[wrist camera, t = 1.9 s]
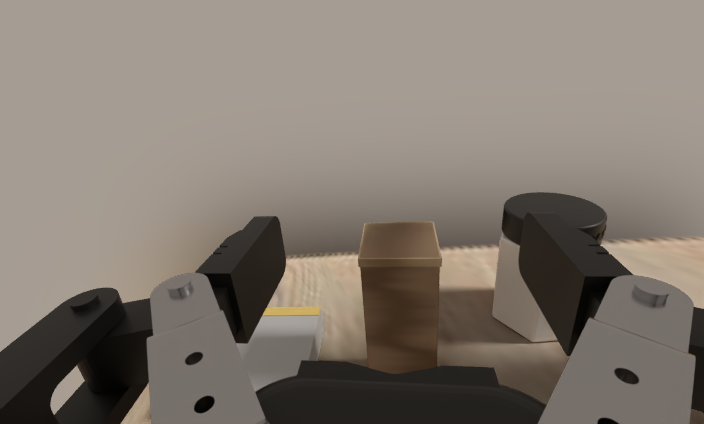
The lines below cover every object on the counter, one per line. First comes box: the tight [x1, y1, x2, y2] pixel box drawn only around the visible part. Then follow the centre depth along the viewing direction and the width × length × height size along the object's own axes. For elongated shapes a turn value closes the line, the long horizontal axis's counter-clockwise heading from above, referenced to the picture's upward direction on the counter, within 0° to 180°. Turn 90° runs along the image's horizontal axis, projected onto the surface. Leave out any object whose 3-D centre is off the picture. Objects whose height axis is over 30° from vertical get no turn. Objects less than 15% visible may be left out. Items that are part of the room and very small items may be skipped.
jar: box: [492, 192, 607, 342], centre depth 34 cm, size 9×8×12 cm
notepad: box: [236, 307, 324, 391], centre depth 32 cm, size 10×10×3 cm
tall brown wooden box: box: [358, 222, 442, 374], centre depth 27 cm, size 5×5×14 cm
